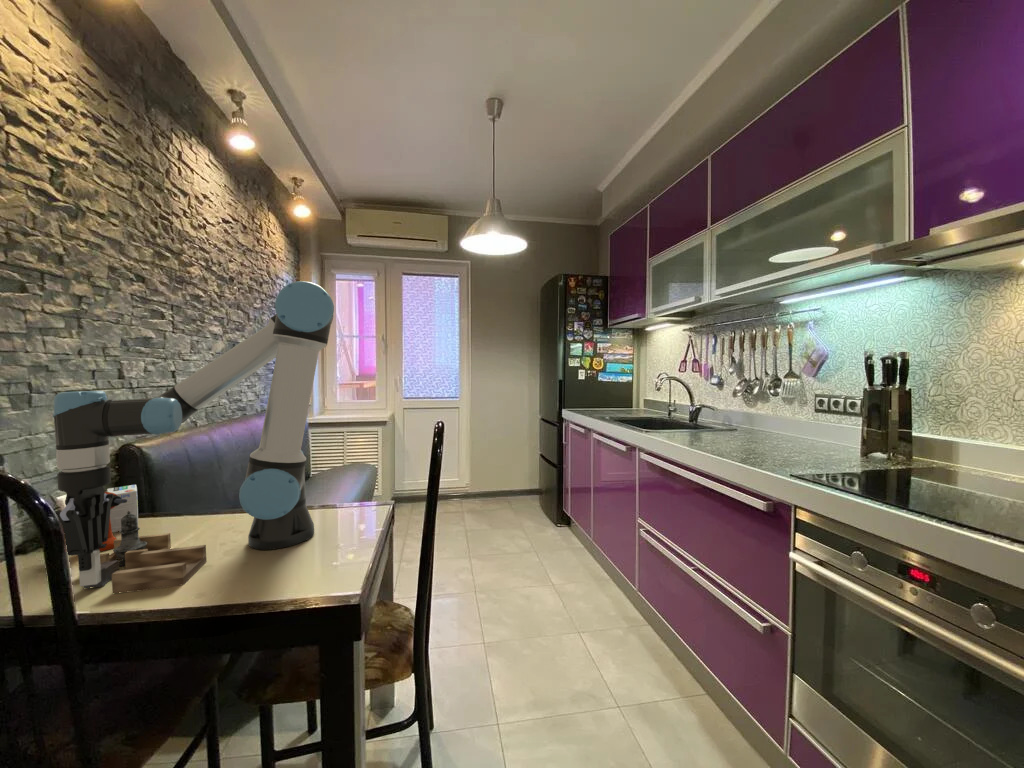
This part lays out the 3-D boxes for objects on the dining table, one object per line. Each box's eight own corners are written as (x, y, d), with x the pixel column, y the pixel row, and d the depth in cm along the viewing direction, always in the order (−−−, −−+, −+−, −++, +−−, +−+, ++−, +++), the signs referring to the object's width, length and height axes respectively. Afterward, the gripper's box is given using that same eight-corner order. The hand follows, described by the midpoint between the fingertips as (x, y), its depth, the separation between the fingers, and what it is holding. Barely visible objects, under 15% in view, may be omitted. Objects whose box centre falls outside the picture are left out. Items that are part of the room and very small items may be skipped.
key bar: (121, 573, 93) (120, 557, 92) (102, 586, 87) (101, 569, 87) (103, 575, 92) (102, 559, 92) (83, 589, 86) (82, 571, 86)
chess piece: (109, 569, 95) (106, 516, 94) (119, 559, 100) (116, 509, 100) (143, 563, 98) (140, 512, 97) (151, 554, 103) (148, 505, 102)
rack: (206, 561, 98) (205, 544, 97) (183, 584, 87) (182, 565, 87) (144, 569, 94) (143, 551, 94) (112, 594, 84) (111, 574, 84)
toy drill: (117, 555, 99) (110, 491, 99) (86, 551, 108) (79, 492, 108) (143, 547, 103) (136, 486, 104) (111, 544, 112) (104, 487, 112)
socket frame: (170, 549, 106) (170, 533, 105) (145, 568, 95) (144, 550, 95) (117, 555, 103) (116, 538, 102) (85, 575, 92) (84, 557, 92)
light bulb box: (107, 524, 125) (106, 488, 125) (138, 518, 129) (136, 483, 129) (106, 534, 117) (104, 495, 117) (139, 527, 122) (137, 490, 121)
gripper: (84, 462, 90) (90, 571, 91) (34, 477, 78) (41, 603, 78) (126, 460, 92) (132, 566, 93) (84, 473, 80) (91, 596, 80)
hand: (90, 583), depth 86 cm, fingers closed
